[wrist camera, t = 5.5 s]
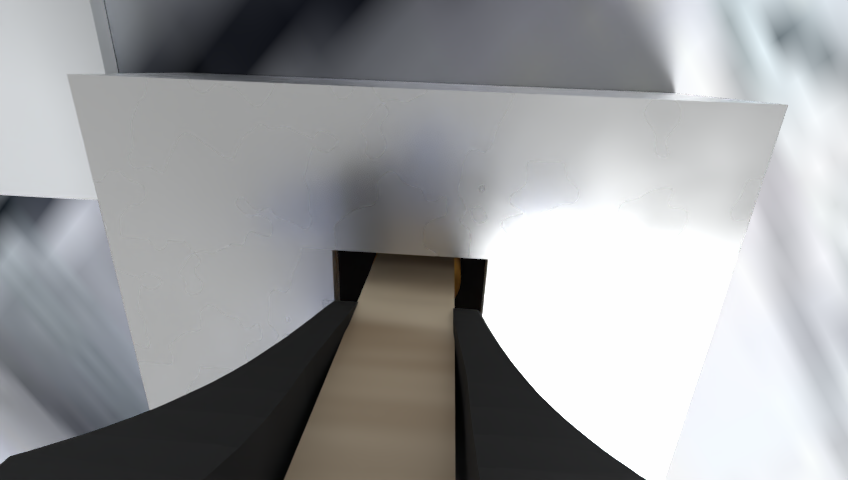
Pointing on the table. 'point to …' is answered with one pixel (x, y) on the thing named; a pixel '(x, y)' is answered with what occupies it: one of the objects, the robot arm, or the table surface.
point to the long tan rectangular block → (389, 381)
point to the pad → (48, 94)
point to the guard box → (432, 223)
